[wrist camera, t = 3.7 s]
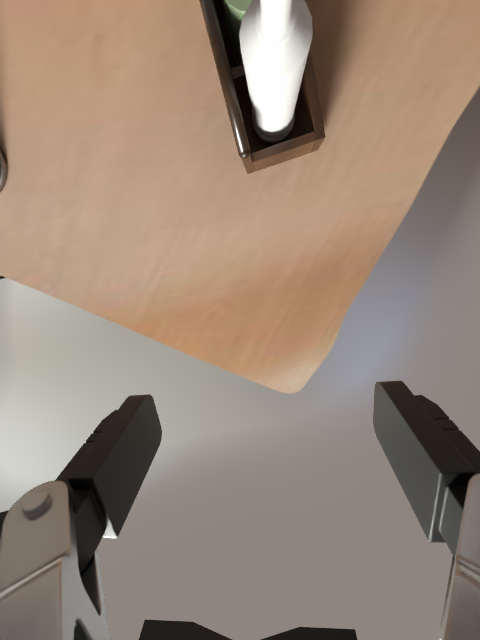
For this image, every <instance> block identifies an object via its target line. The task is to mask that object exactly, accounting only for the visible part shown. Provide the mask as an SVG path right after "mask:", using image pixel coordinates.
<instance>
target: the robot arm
mask: <svg viewBox="0 0 480 640" xmlns="http://www.w3.org/2000/svg"><path fill="white" fill-rule="evenodd" d="M6 180H7V165H6V160H5V157H4V154H3V152H2V150H1V148H0V192H1V191H2V189H3V188H4V186H5V183H6ZM4 278H6V277H3V276H0V279H4ZM373 422H374V429H375V433H376V436H377V438H378V440H379V442H380V444H381V446H382V448H383V450H384V453H385V455H386V457H387V459H388V461H389V463H390V464H391V466H392V469H393V471H394V472H395V474H396V477H397V479H398V481H399V483H400V485H401V487H402V489H403V490H404V493H405V495H406V497H407V499H408V501H409V502H410V505H411V507H412V509H413V511H414V513H415V515H416V517H417V518H418V521H419V523H420V525H421V527H422V529H423V531H424V533H425V535H426V537H427V539H428V541H429V542H446V544H447V545H448V547H449V549H450V551H451V553H452V554H453V557H452V562H451V567H450V573H449V579H448V584H447V590H446V596H445V602H444V607H443V613H442V619H441V625H440V630H439V635H438V640H480V451H479V450H478V449H477V448H476V447H475V446H474V445H473V444H472V443H471V441H469V439H468V438H467V437H466V436H465V435H464V434H463V433H462V432H461V431H459V429H458V427H457V426H456V425H455V424H454V423H453V421H451V420H449V417H448V416H447V415H446V414H445V413H444V411H443V410H442V409H441V408H440V407H439V406H438V405H437V404H435V403H434V402H432V401H430V400H429V399H427V398H425V397H424V396H422V395H417V396H414V395H413V394H412V392H411V391H410V390H409V389H408V387H407V386H406V385H405V384H404V383H403V382H402V381H387V382H377V383H376V385H375V394H374V414H373ZM161 435H162V430H161V425H160V421H159V418H158V414H157V411H156V407H155V404H154V400H153V397H152V396H151V395H135V396H134V395H133V396H129V397H128V398H127V399H126V400H125V401H124V403H123V404H122V405H121V407H120V408H119V410H115V411H114V412H112V413H111V414H110V415H108V416H107V417H106V418H105V419H103V420H102V421H101V423H100V424H99V425H98V427H97V428H96V429H95V430H94V433H93V434H91V435H90V437H89V438H88V439H87V440H86V443H84V444H83V446H82V447H81V448H80V449H79V451H78V452H77V453H76V454H75V456H74V457H73V458H72V460H71V461H70V462H69V463H68V465H67V466H66V467H65V468H64V470H63V471H62V472H61V474H60V475H59V476H58V477H57V479H56V480H55V481H50V482H46V483H43V484H41V485H39V486H37V487H35V488H33V489H31V490H30V491H28V492H27V493H26V494H24V495H23V496H22V497H21V498H20V499H18V500H17V501H16V502H15V503H14V505H13V506H12V507H11V508H10V510H8V511H5V512H1V513H0V640H112V638H111V635H110V632H109V627H108V622H107V615H106V607H105V599H104V592H103V584H102V577H101V568H100V561H99V554H98V551H97V547H98V545H99V543H100V540H101V539H102V538H118V535H119V533H120V531H121V529H122V526H123V524H124V522H125V520H126V518H127V516H128V513H129V511H130V509H131V507H132V505H133V502H134V500H135V498H136V496H137V494H138V491H139V489H140V487H141V485H142V483H143V480H144V478H145V476H146V474H147V472H148V469H149V467H150V465H151V463H152V461H153V459H154V456H155V454H156V452H157V450H158V447H159V445H160V442H161V437H162V436H161ZM139 640H232V639H229V638H227V637H225V636H223V635H220V634H218V633H216V632H214V631H212V630H210V629H207V628H205V627H203V626H201V625H198V624H196V623H194V622H183V621H161V620H160V621H159V620H145V621H144V624H143V628H142V631H141V634H140V638H139ZM261 640H357V637H356V632H355V630H354V629H332V628H310V627H298V628H295V629H292V630H289V631H286V632H283V633H280V634H277V635H274V636H270V637H268V638H264V639H261Z"/></svg>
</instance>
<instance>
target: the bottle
mask: <svg viewBox="0 0 480 640" xmlns="http://www.w3.org/2000/svg"><path fill="white" fill-rule="evenodd" d="M312 36H313V30H312V16H311V14H310V11H309V9H308V6H307V4H306V1H305V0H252V2H251V3H250V5H249V7H248V9H247V10H246V12H245V14H244V15H243V19H242V23H241V28H240V33H239V37H240V47H241V54H242V59H243V64H244V69H245V74H246V79H247V85H248V90H249V95H250V100H251V105H252V110H253V115H252V119H253V127H254V130H255V132H256V134H257V136H258V137H259V138H260V139H261V140H263V141H264V142H267V143H270V144H273V143H279V142H280V141H282V140H283V139H285V138H286V137H287V136H288V134H289V133H290V131H291V130H292V127H293V124H294V120H295V106H296V102H297V98H298V94H299V90H300V86H301V81H302V77H303V73H304V69H305V65H306V61H307V57H308V53H309V49H310V45H311V40H312Z"/></svg>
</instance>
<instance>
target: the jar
mask: <svg viewBox="0 0 480 640" xmlns="http://www.w3.org/2000/svg"><path fill="white" fill-rule="evenodd" d="M251 2H252V0H222V3H223V8H224V13H225V17H226V22H227V27H228V32H229V36H230V41H231V46H232V50H233V54H234V57H235V60H236V62H237V63H238V65H242V64H243V59H242V54H241V47H240V37H239V33H240V28H241V23H242V19H243V15H244V14H245V12H246V10H247V9H248V7H249V5H250V3H251Z"/></svg>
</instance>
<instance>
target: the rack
mask: <svg viewBox="0 0 480 640" xmlns="http://www.w3.org/2000/svg"><path fill="white" fill-rule="evenodd" d="M199 1H200V4H201V8H202V12H203V16H204V20H205V24H206V28H207V32H208V36H209V40H210V43H211V47H212V51H213V55H214V59H215V63H216V67H217V71H218V75H219V79H220V83H221V86H222V90H223V94H224V98H225V102H226V106H227V110H228V114H229V118H230V122H231V125H232V129H233V133H234V137H235V141H236V145H237V149H238V153H239V156H240V157H241V158H242V160H243V163H244V166H245V168H246V171H247V173H248V174H249V173H252V172H254V171H258V170H261V169H263V168H266V167H269V166H272V165H275V164H278V163H281V162H284V161H287V160H290V159H293V158H296V157H299V156H302V155H305V154H307V153H310V152H313V151H316V150H318V149H319V147H320V145H321V144H322V142H323V140H324V138H325V133H324V127H323V122H322V116H321V111H320V105H319V99H318V94H317V88H316V83H315V77H314V72H313V66H312V60H311V55H310V49H309V53H308V57H307V61H306V65H305V69H304V73H303V77H302V81H301V86H300V90H299V96H300V101H301V106H302V111H303V117H304V122H305V127H306V132H307V134H304V135H301V136H299V137H296V138H293V139H290V140H287V141H284V142H282V143H279V144H276V145H273V146H270V147H268V148H265V149H262V150H259V151H256V152H253V153H251V151H250V146H249V142H248V138H247V134H246V130H245V126H244V122H243V118H242V114H241V110H240V106H239V102H238V100H239V99H242V98H244V97H247V96H249V90H248V85H247V79H246V74H245V69H244V64H242V65H239V66H237V67H234V68H232V69H230V65H229V61H228V57H227V53H226V49H225V45H224V40H223V36H222V32H221V28H220V24H219V20H218V19H220V18H222V17H224V16H225V13H224V8H223V3H222V0H199Z"/></svg>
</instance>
